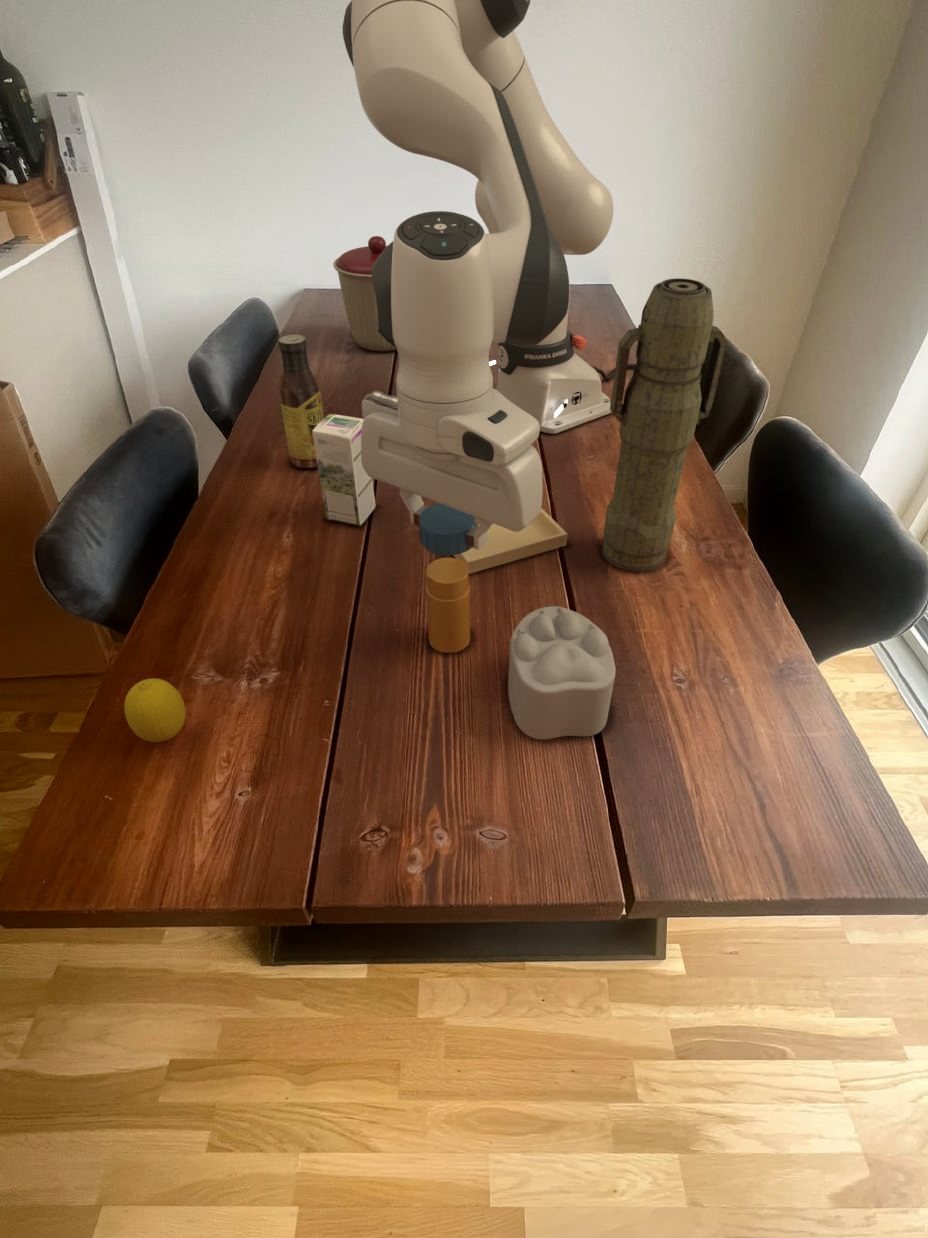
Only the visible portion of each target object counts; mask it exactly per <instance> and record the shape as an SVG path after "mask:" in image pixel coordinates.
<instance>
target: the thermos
mask: <svg viewBox="0 0 928 1238" xmlns="http://www.w3.org/2000/svg"><path fill="white" fill-rule="evenodd" d="M712 293H713V292H712V290H711V288H710V287H709V286H707V285H706V284H705V283H703V282H701V281H699V280H695V279H692V278H681V277H680V278H679V277H677V278H668V279H665V280H662V281H661V282H658V283H656V284H655V285H654V286H653V287H652V289H651V292H650V294H649V296H648V298H647V300H646V302H645V305H644V306H643V309H642V313H641V318H640V324H638V325H637V326H638V327H636V328H635V327H634V328H631V329H628V330H627V331H626V332H625V334H624V335H623V336H622V338H621V339H620V340H619V341H618V347H617V353H616V361H615V368H614V369H615V374H614V376H613V383H612V391H611V397H610V398H611V399H610V400H611V404H610V410H611V414H612V416H613V417H614V418H615V419H616V420H617V421H618V422H619V429H618V431H619V433H618V434H619V437H620V440H621V441H620V447H619V448H620V449H619V455H618V462H617V469H616V473H615V482H614V487H613V495H612V498H611V500H610V502H609V503H608V505H607V507H606V512H605V520H604V526H603V543H602V555H603V556H604V559H605V560H606V561H607V562H608V563H610V564H611V565H612V566H614V567H616V568H618V569H621V570H625V571H628V572H636V573H641V572H650V571H653V570H656V569H658V568H660V567H661V566H662V565H664V563H665V561H666V559H667V551H668V548H669V546H670V545H671V543H672V537H673V533H674V528H675V524H676V519H677V516H676V512H675V503H676V499H677V494H678V490H679V486H680V481H681V476H682V472H683V467H684V463H685V459H686V454H687V450H688V448H689V447H690V445H691V444H692V441H693V440H694V436H695V431H696V428H697V427H696V426H697V425H700V421H701V419H707V418H709V415H710V414H711V413H710V412H711V410H712V408H713V404H714V400H715V397H716V392H717V388H718V383H719V379H720V375H721V370H722V366H723V362H724V358H725V354H726V350H727V346H728V342H727V339H726V338H725V336H724V334H723V331H722V330H721V329H720V328H719V327H718V326H713V325H714V319H715V314H714V304H713V303H714V301H713V294H712ZM635 342H637V344H636V352H635V356H636V363H635V364H636V365H635V366H634V368H633V370H632V371H633V372H632V376H631V377H630V380H629V381H628V384H627V385H626V380H627V373H628V368H627V367H628V364H629V359H630V352H631V348H632V346H633V345H634V343H635ZM709 343H713V345H712V350H711V353H710V354H711V355H710V359H709V363H708V366H707V367H708V368H707V372H706V377H705V381H704V386H703V390H702V391H703V392H702V391H701V379H702V375H703V373H702V371H701V370H702V366H703V365H704V363H705V360H706V356H707V352H708V347H709ZM625 386H626V387H625Z"/></svg>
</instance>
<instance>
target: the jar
mask: <svg viewBox="0 0 928 1238" xmlns="http://www.w3.org/2000/svg"><path fill="white" fill-rule="evenodd" d="M424 572H425V576H426V585H425V595H426V614H427V615H426V618H427V634H428V642H429V645H430V646H431V647H432V649H434V650H436V651H437V652H439V653H444V654H453V653H458V652H461V651H463V650H464V649H466V648H467V647H468V645H469V644H470V641H471V584H470V574H469V568H468V566H467V564H466V563H464V562H463V561H461V560H459V559H456V558H455V557H441V558H437V559H435V560H433V561H432V562H430V563H429V564H428V565H427V567H426V568H425V571H424Z"/></svg>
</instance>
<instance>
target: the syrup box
mask: <svg viewBox="0 0 928 1238" xmlns="http://www.w3.org/2000/svg"><path fill="white" fill-rule="evenodd" d="M363 421H364V420H363V418H360V417H355V416H348V415H341V414H335V413H329V414H327V415H326V416H325V417H324V419H323V420H322V421H321V422H320V423H319V424H318V425H317V426H316V427H315V428H314V429H313V430H312V431H313V432H312V433H313V440H314V446H315V452H316V458H317V464H318V467H317V471H318V477H319V483H320V488H321V494H322V495H321V496H322V501H323V506H324V507H323V508H324V512H325V513H324V515H325V518H326V520H327V521H331V522H332V521H333V522H338V523H343V524H348V525H352V526H358V527H360V526H362V525H363V524H364V523H365V521H366V520H367V519H368V518H369V516H370V515H371V514H372V512H373V511H374V510H375V509H376V507H377V506H376V497H375V490H374V482H373V478H371V477H369V476H368V475H367V473H366V472H365V470H364V468H363V466H362V460H361V433H362V424H363Z"/></svg>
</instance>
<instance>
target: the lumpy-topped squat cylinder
mask: <svg viewBox="0 0 928 1238" xmlns="http://www.w3.org/2000/svg"><path fill="white" fill-rule="evenodd" d="M508 658H509V659H508V660H509V662H508V679H507V692H508V693H507V694H508V700H509V706H510V709H511V712H512V715H513V719H514V721H515V723H516V726H517V727H518V728H519V730H520V731H522V732H523V733H524V734H525V735H527V737H530V738H532V739H535V740H542V741H543V740H551V739H556V738H562V737H572V736H573V737H591V736H595V735H597V734H600V733H601V732H602V731H603V730H604V728H605V726H606V725H607V721H608V717H609V712H610V706H611V700H612V695H613V690H614V686H615V685H614V684H615V678H616V674H617V673H616V671H617V669H616V663H615V659H614V654H613V651H612V648H611V646H610V644H609V639H608V636H607V635H606V634H605V632H604V631H603V630H602V629H600V628H599V627H598V626H597V625H596V624H595V623H594V622H593V621H591V620H590V619H588V617H585V616H584V615H582V614H581V613H579V612H576V611H574V610H572V609H569V608H566V607H563V606H558V605H557V606H556V605H550V606H549V605H548V606H543V607H540V608H536V609H535V610H533V611H531V612H530V613H528V614H526V615H525V616H524V617H523V618H522V619H521V620H520V621H519V622H518V624H517V625H516V627H515V629H514V630H513V632H512V634H511V637H510V641H509V657H508Z"/></svg>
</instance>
